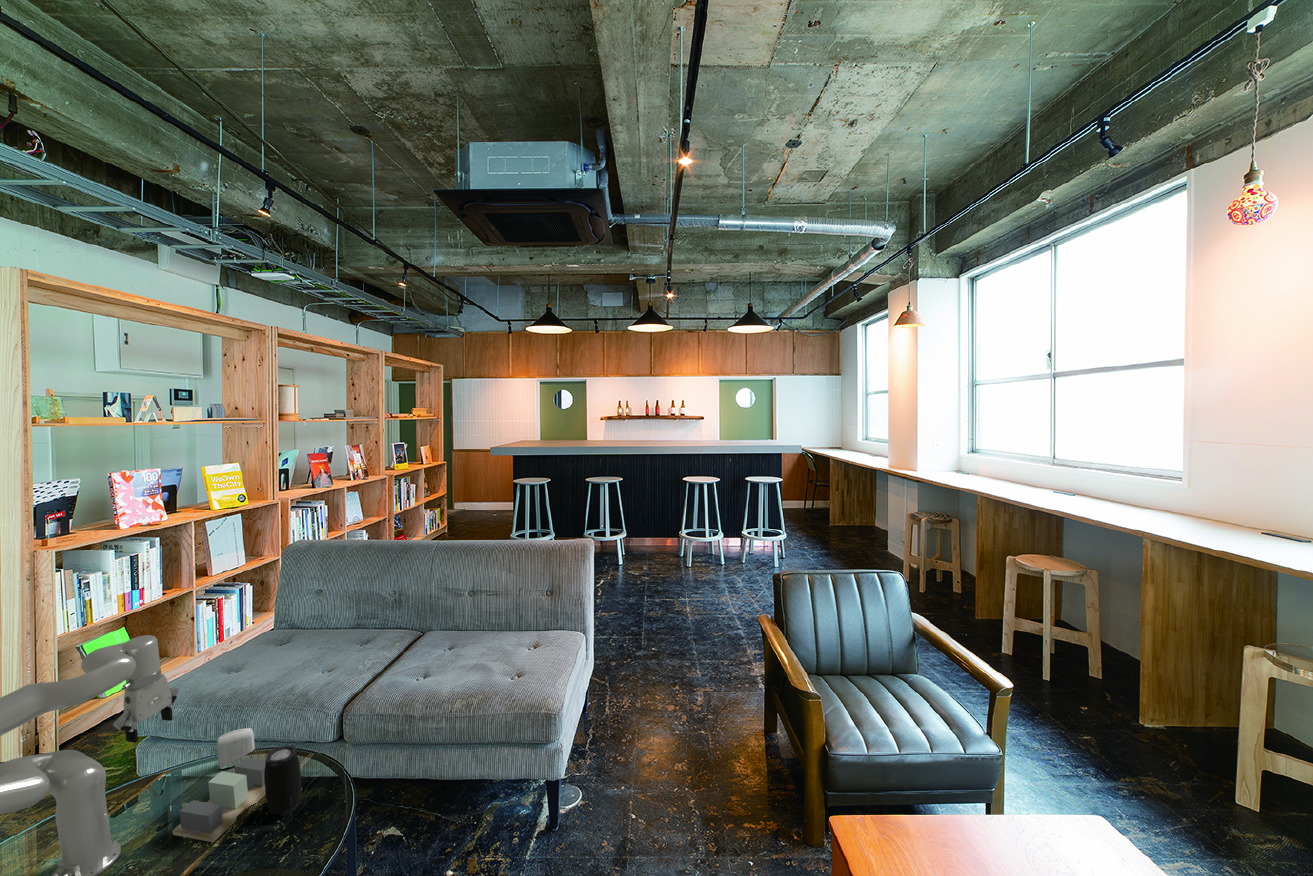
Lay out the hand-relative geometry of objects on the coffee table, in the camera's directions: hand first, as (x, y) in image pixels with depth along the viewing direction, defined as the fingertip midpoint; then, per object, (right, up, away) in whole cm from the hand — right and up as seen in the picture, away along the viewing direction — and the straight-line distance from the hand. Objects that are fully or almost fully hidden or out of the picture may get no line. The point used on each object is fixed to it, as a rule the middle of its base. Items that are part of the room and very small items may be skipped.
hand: (150, 730), depth 162 cm
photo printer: (+5, -27, +28) cm, 39 cm away
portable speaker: (+34, -30, +10) cm, 47 cm away
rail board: (+16, -30, +10) cm, 35 cm away
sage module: (+16, -28, +10) cm, 34 cm away
